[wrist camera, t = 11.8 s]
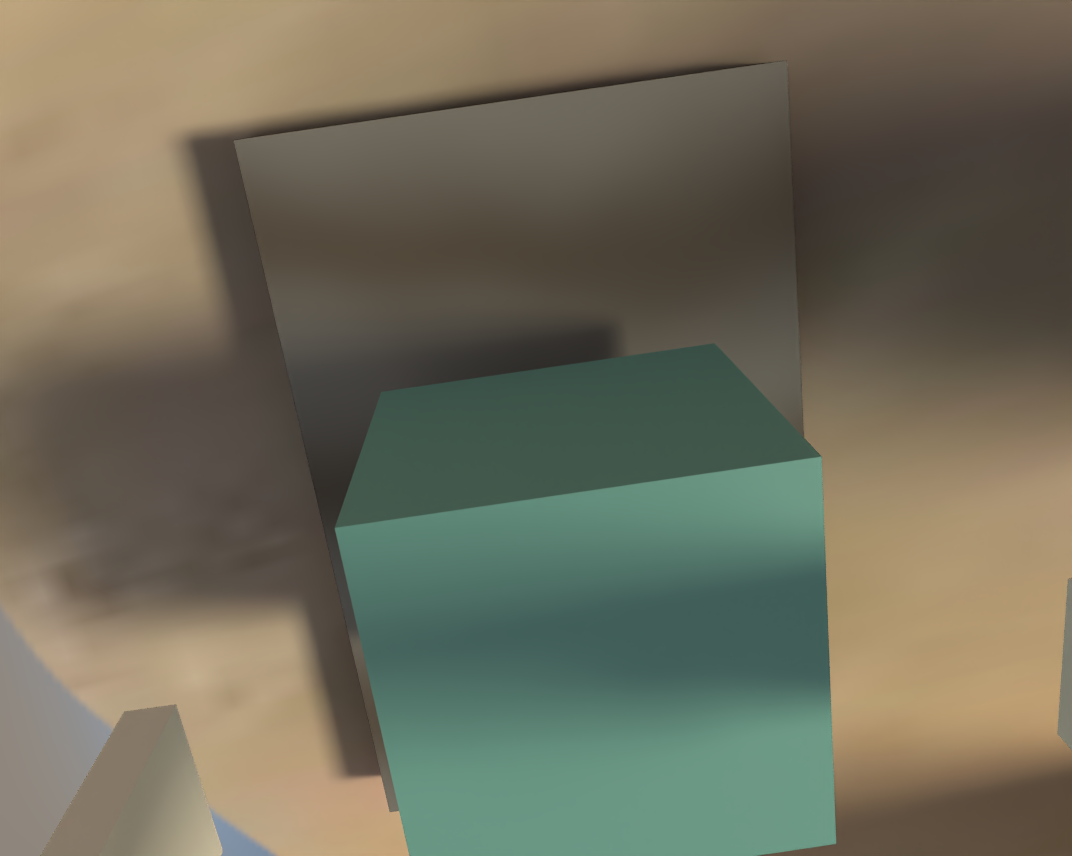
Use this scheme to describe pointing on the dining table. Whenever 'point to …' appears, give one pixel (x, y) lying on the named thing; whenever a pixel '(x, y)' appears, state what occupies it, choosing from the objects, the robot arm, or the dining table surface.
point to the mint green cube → (596, 612)
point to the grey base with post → (524, 252)
